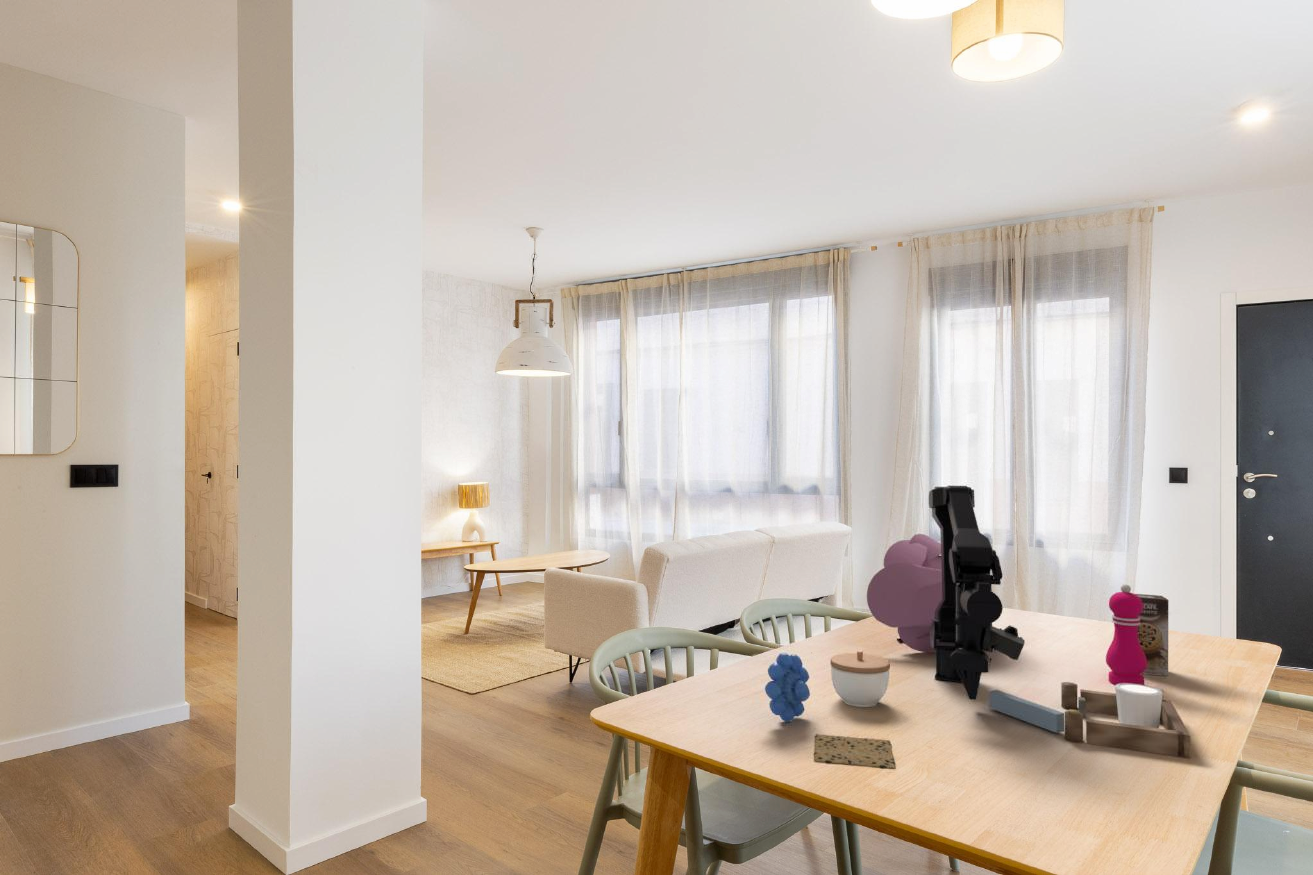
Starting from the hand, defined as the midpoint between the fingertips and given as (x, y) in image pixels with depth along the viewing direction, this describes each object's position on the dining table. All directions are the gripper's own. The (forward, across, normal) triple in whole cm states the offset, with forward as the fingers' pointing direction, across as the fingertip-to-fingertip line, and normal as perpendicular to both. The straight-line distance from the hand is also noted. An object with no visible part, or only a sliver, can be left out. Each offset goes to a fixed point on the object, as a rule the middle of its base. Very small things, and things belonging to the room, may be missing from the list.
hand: (972, 699), depth 142 cm
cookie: (+2, -30, +15) cm, 34 cm away
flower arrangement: (+2, +51, +12) cm, 53 cm away
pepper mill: (+2, +32, -27) cm, 42 cm away
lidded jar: (+2, -5, +19) cm, 20 cm away
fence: (+2, 0, -23) cm, 23 cm away
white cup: (+2, +1, -26) cm, 26 cm away
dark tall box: (+2, +45, -31) cm, 55 cm away
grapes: (+2, -22, +27) cm, 35 cm away
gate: (+1, -3, -9) cm, 9 cm away
